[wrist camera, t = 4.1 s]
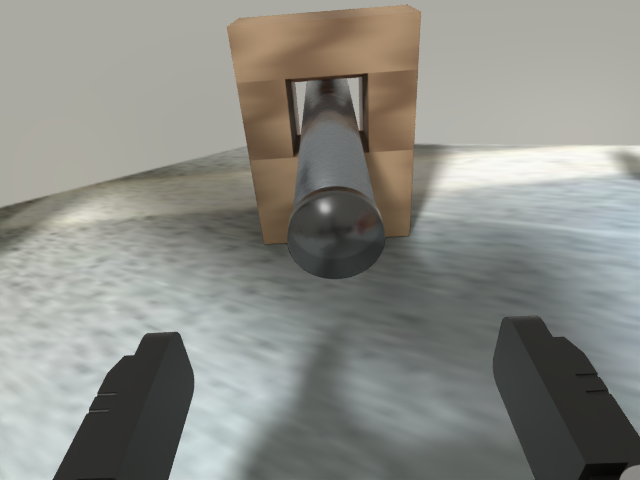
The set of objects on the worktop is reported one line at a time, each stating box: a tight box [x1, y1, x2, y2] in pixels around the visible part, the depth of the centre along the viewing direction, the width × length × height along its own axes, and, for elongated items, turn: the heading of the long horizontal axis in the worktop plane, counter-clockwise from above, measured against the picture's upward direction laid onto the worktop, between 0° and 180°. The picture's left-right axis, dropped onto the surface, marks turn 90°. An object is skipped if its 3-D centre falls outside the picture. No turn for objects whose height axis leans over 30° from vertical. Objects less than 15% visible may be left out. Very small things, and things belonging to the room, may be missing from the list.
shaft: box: [287, 78, 385, 279], centre depth 24 cm, size 21×3×3 cm, turn 0°
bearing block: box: [227, 5, 421, 244], centre depth 27 cm, size 10×4×14 cm, turn 90°
